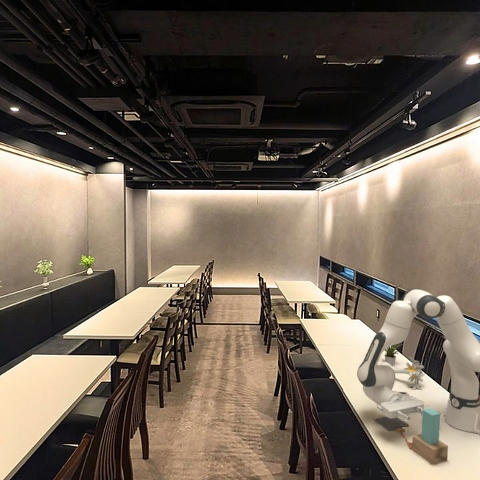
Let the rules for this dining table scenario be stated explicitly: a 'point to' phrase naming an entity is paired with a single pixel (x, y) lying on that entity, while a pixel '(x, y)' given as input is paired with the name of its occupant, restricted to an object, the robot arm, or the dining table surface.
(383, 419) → the mat
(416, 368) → the flower vase
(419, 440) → the block
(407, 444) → the key
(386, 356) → the house plant
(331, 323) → the dining table surface
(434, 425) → the tall teal pillar
